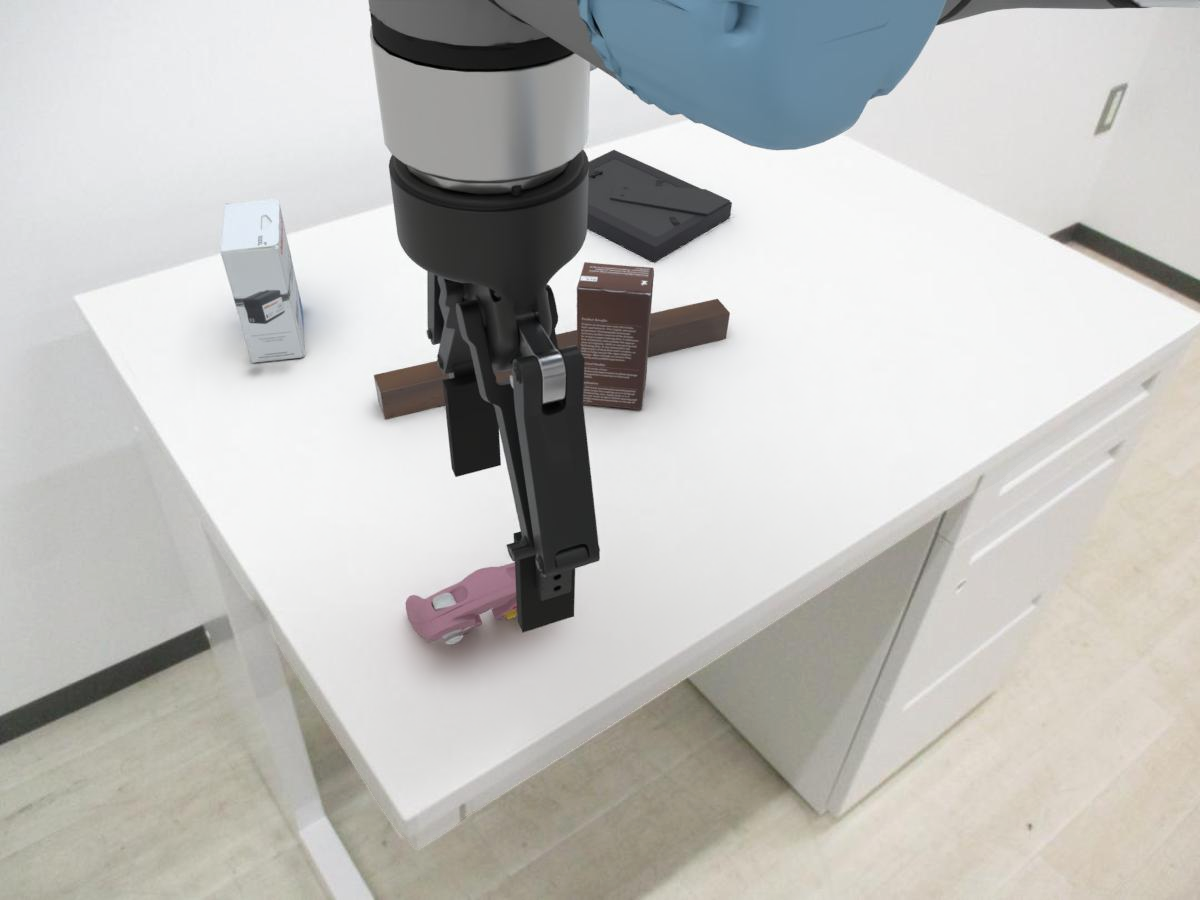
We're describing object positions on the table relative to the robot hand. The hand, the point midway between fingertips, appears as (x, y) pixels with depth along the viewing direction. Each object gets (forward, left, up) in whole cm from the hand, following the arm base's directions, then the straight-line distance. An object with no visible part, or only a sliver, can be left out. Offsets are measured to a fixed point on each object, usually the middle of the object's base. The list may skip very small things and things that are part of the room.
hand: (508, 537), depth 51 cm
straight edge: (+31, -15, -16) cm, 38 cm away
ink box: (+45, +8, -16) cm, 48 cm away
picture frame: (+55, -33, -16) cm, 66 cm away
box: (+26, -18, -16) cm, 36 cm away
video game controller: (+7, 0, -16) cm, 18 cm away
